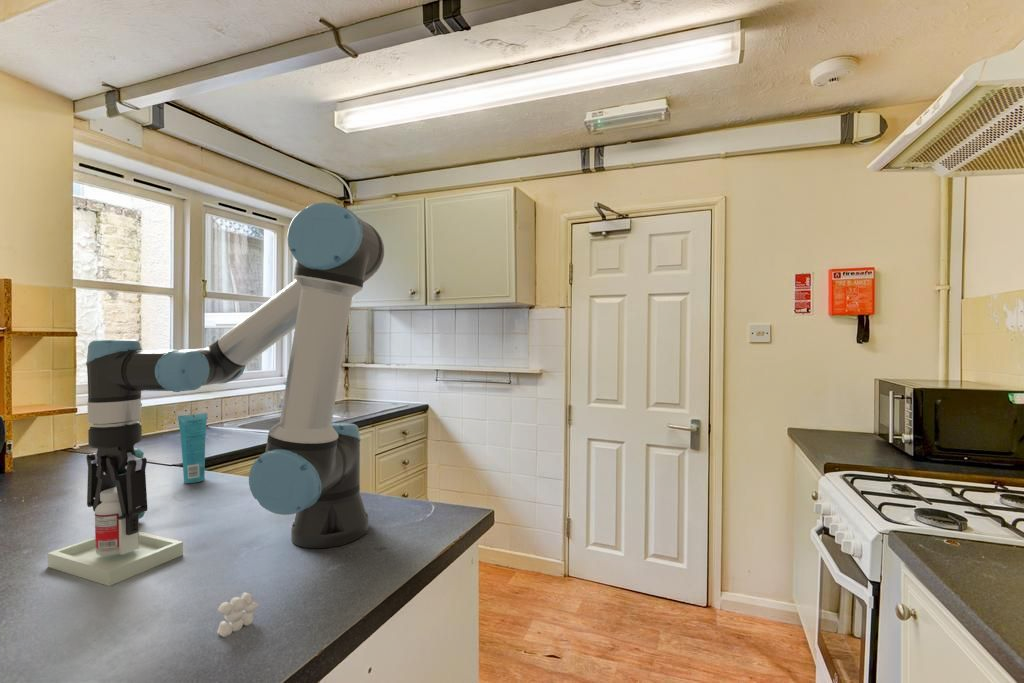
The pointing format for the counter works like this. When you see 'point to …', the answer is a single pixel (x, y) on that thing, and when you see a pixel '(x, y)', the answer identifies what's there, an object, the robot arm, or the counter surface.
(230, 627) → the white bumpy cluster
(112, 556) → the tray
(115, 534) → the pill bottle
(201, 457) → the tube
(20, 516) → the counter surface
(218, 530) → the counter surface
